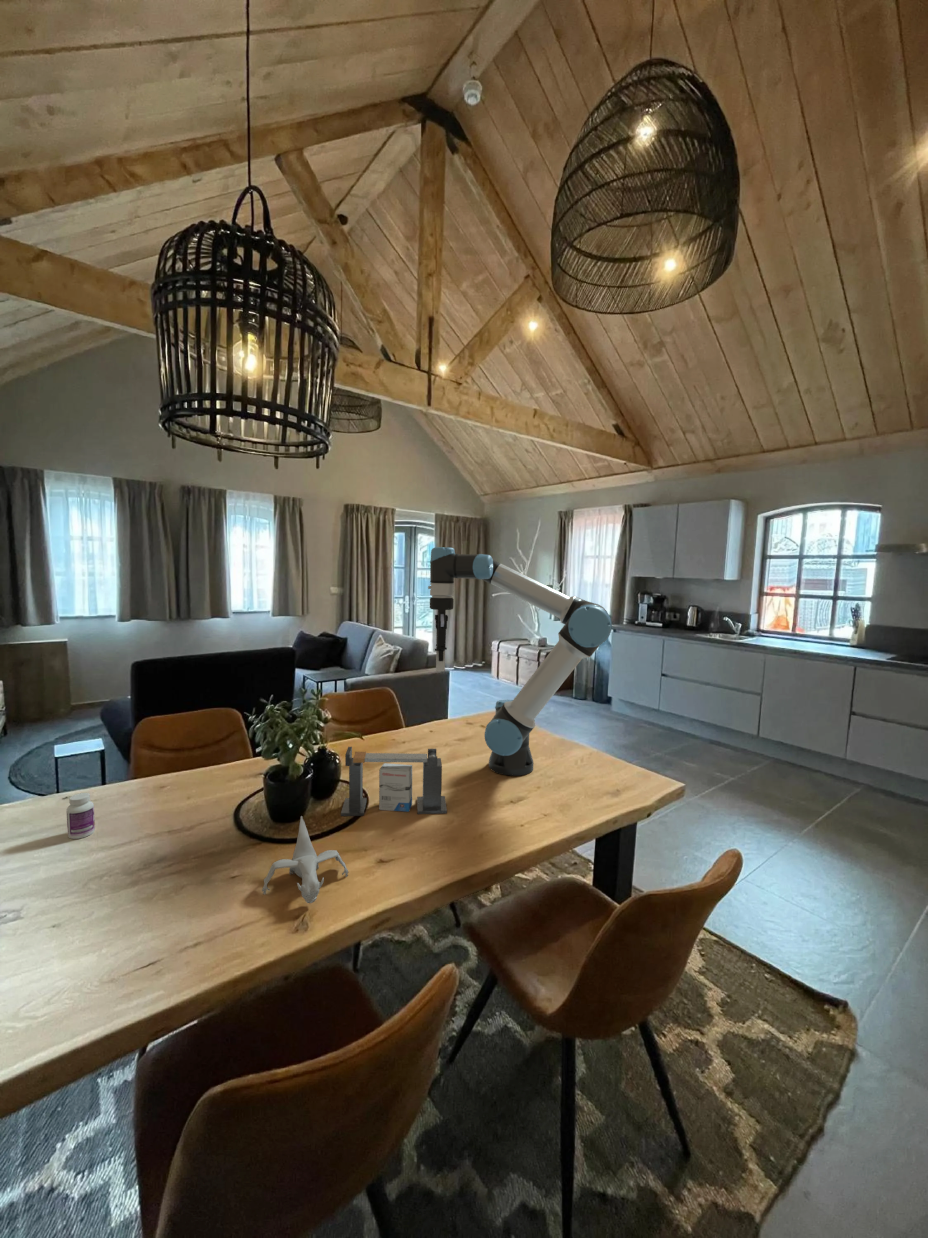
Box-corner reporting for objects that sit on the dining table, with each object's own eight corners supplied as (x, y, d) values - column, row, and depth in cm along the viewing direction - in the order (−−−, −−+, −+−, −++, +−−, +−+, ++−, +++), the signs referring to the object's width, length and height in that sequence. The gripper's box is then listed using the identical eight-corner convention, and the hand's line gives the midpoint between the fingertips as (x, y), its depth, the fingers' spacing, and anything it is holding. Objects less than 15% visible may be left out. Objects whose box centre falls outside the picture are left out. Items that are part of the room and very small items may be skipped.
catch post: (366, 800, 144) (366, 744, 143) (363, 815, 136) (363, 756, 134) (345, 801, 144) (345, 745, 142) (340, 816, 135) (340, 756, 133)
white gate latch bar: (435, 758, 143) (435, 751, 143) (435, 764, 138) (436, 758, 138) (355, 757, 141) (355, 751, 141) (353, 764, 136) (353, 757, 136)
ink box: (412, 804, 143) (413, 764, 142) (409, 812, 138) (409, 771, 137) (383, 802, 144) (383, 762, 143) (378, 810, 139) (378, 769, 138)
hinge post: (444, 798, 147) (445, 747, 145) (446, 813, 138) (447, 758, 136) (417, 799, 146) (418, 747, 144) (417, 814, 137) (418, 759, 136)
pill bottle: (100, 830, 125) (98, 793, 124) (78, 841, 120) (76, 802, 119) (85, 826, 127) (83, 790, 126) (62, 837, 122) (60, 798, 121)
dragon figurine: (251, 896, 103) (251, 856, 100) (300, 851, 116) (301, 815, 114) (311, 922, 98) (312, 880, 96) (355, 872, 112) (357, 835, 110)
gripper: (429, 595, 164) (428, 666, 167) (430, 597, 152) (429, 674, 154) (452, 595, 165) (450, 666, 168) (455, 598, 152) (453, 674, 155)
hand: (440, 670), depth 161 cm, fingers closed
